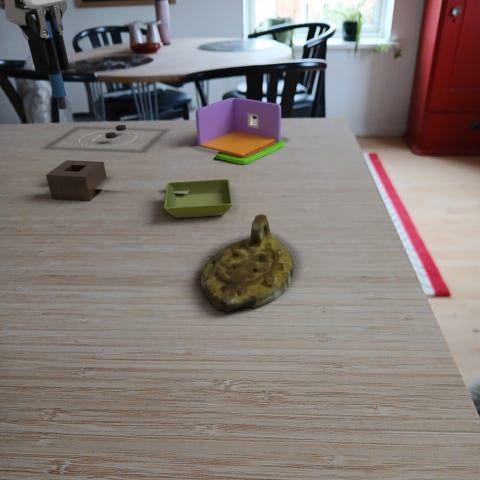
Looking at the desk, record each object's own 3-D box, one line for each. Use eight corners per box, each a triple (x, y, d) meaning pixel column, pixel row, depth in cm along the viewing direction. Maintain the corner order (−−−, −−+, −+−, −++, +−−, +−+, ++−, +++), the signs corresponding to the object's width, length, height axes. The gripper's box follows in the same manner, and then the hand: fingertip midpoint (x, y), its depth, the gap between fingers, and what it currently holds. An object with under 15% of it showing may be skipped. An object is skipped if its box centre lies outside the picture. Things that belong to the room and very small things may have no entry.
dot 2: (114, 130, 92) (113, 127, 92) (118, 127, 93) (117, 124, 93) (123, 131, 92) (123, 127, 91) (127, 128, 93) (127, 124, 93)
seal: (277, 330, 48) (300, 251, 60) (283, 289, 45) (306, 215, 57) (183, 310, 50) (223, 237, 61) (183, 270, 47) (225, 201, 58)
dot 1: (104, 138, 89) (103, 135, 88) (108, 135, 90) (107, 131, 90) (113, 138, 88) (113, 135, 88) (118, 135, 90) (117, 132, 89)
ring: (47, 153, 89) (45, 147, 89) (78, 132, 99) (77, 126, 98) (143, 157, 86) (142, 150, 85) (167, 135, 95) (166, 129, 95)
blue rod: (54, 110, 68) (33, 22, 62) (60, 106, 69) (40, 21, 63) (65, 110, 67) (45, 22, 61) (71, 106, 68) (51, 20, 62)
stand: (51, 198, 73) (45, 174, 71) (71, 182, 78) (66, 160, 76) (90, 201, 72) (85, 176, 70) (108, 184, 77) (103, 161, 75)
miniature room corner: (233, 133, 94) (232, 94, 90) (287, 144, 88) (288, 102, 84) (189, 152, 87) (185, 110, 83) (244, 165, 81) (243, 120, 77)
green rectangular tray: (230, 192, 73) (229, 178, 71) (233, 219, 66) (233, 203, 64) (168, 196, 72) (166, 182, 71) (165, 223, 65) (163, 208, 64)
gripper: (18, -110, 61) (57, 60, 72) (-73, -120, 49) (-9, 86, 60) (75, -114, 60) (106, 60, 71) (-4, -127, 48) (48, 86, 59)
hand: (53, 71), depth 65 cm, fingers closed on blue rod, 1 cm apart
